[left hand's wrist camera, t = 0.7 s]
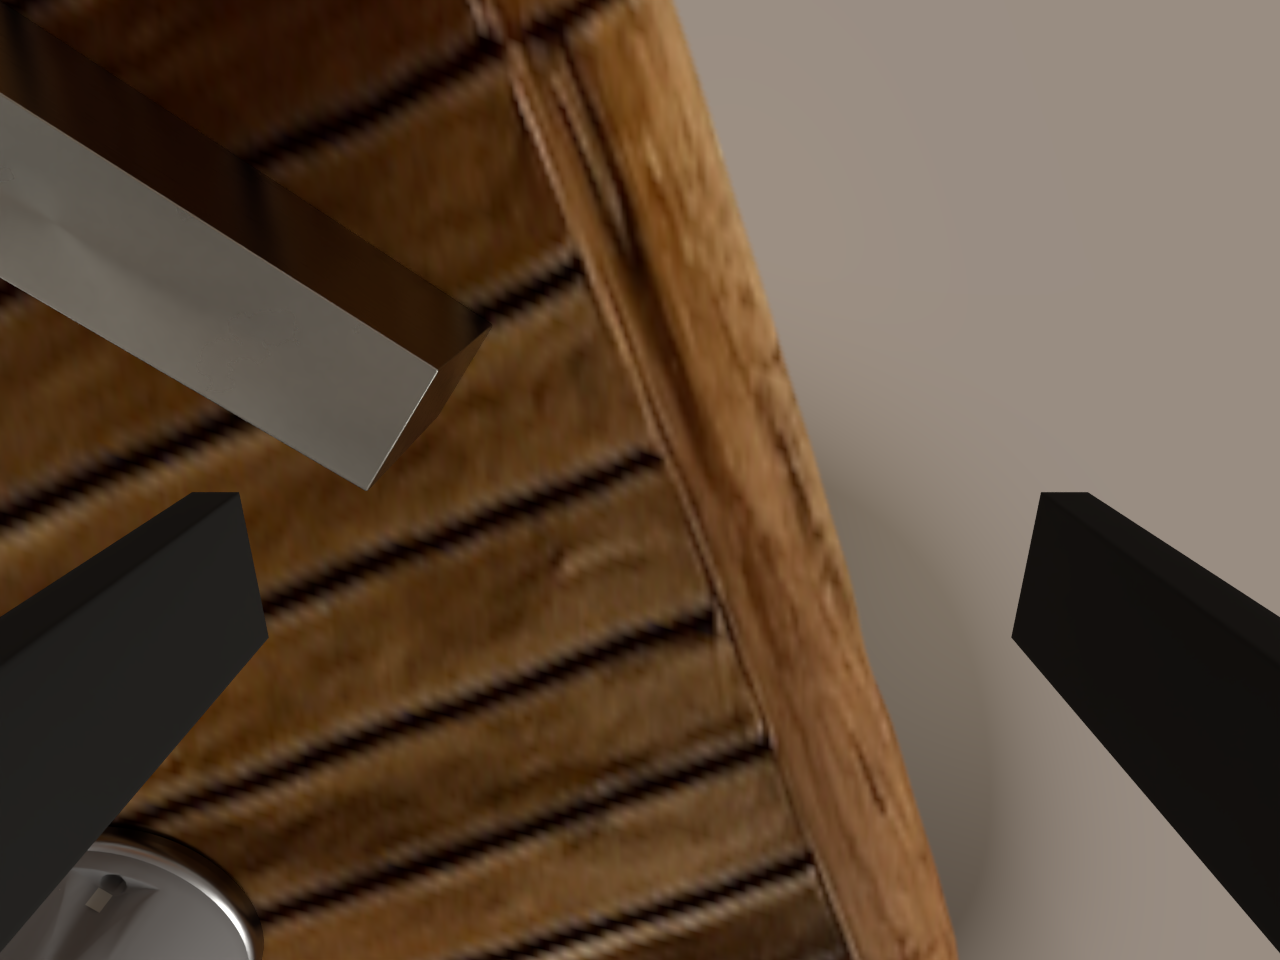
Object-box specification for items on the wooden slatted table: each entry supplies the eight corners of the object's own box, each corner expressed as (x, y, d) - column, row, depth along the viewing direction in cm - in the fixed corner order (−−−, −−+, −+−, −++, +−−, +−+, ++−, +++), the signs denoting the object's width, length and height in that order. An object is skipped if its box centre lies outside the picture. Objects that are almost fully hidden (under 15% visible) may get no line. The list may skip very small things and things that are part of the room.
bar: (493, 324, 31) (439, 370, 23) (437, 417, 33) (366, 492, 24) (-45, -29, 27) (-357, -134, 18) (-83, 95, 28) (-389, 51, 20)
